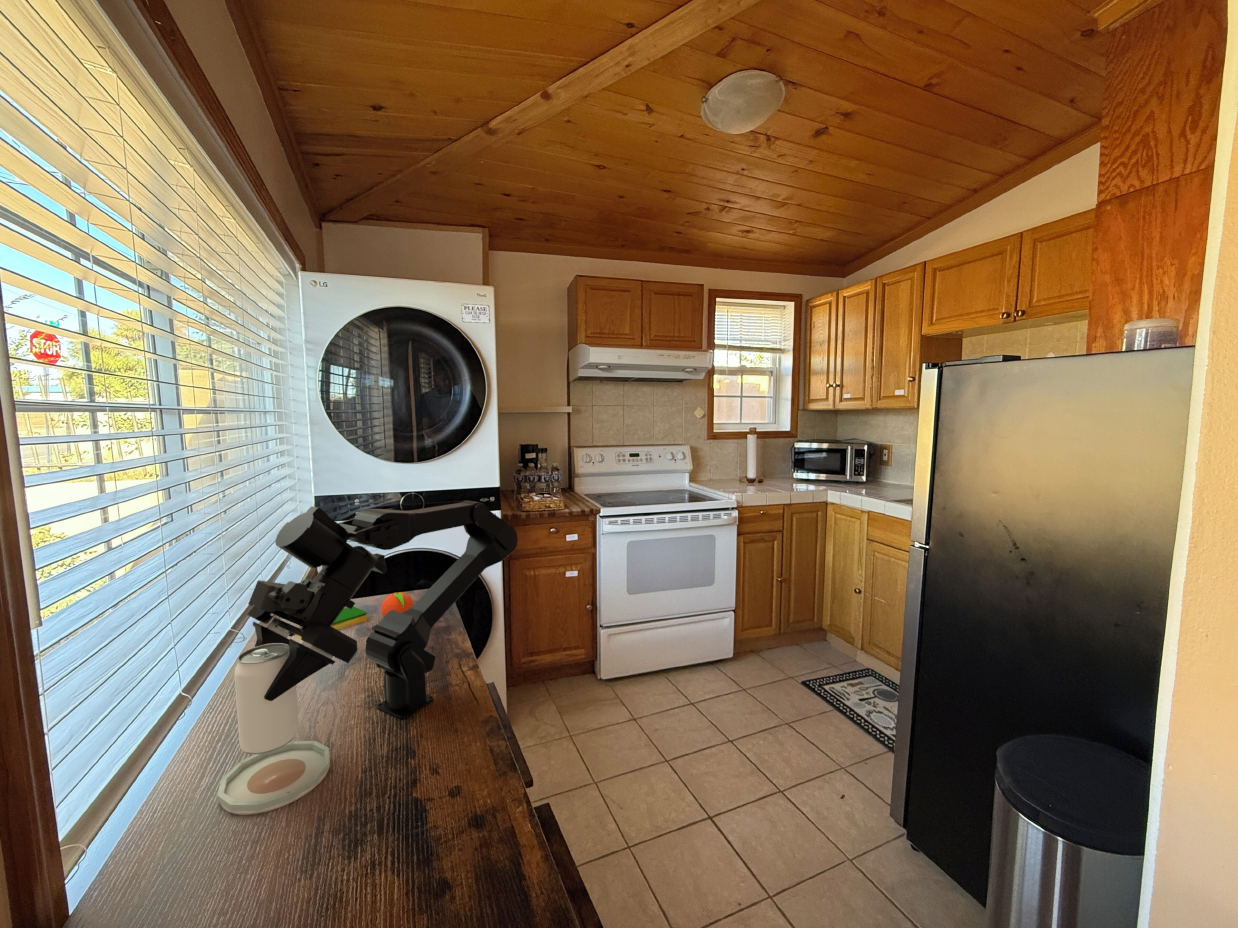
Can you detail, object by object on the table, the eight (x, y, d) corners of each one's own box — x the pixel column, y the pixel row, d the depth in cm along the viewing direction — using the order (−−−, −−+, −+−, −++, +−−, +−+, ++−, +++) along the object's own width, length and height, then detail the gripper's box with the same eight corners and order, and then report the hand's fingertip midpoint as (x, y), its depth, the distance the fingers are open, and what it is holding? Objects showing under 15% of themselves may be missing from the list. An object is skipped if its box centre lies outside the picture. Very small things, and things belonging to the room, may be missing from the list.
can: (280, 720, 71) (275, 637, 70) (309, 732, 68) (304, 647, 67) (228, 746, 65) (222, 657, 64) (258, 761, 63) (251, 669, 62)
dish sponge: (289, 634, 112) (289, 623, 112) (353, 614, 123) (352, 605, 123) (303, 642, 108) (302, 631, 108) (368, 622, 119) (367, 612, 119)
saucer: (348, 766, 69) (348, 757, 69) (250, 829, 59) (250, 818, 59) (298, 739, 75) (297, 731, 75) (200, 792, 64) (200, 782, 64)
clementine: (420, 624, 117) (419, 594, 117) (388, 632, 113) (387, 601, 112) (408, 613, 123) (407, 585, 123) (377, 621, 119) (376, 591, 118)
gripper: (258, 545, 73) (167, 649, 65) (328, 566, 63) (231, 691, 55) (318, 583, 80) (243, 680, 72) (389, 607, 71) (311, 722, 62)
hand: (255, 692), depth 65 cm, fingers closed on can, 6 cm apart
